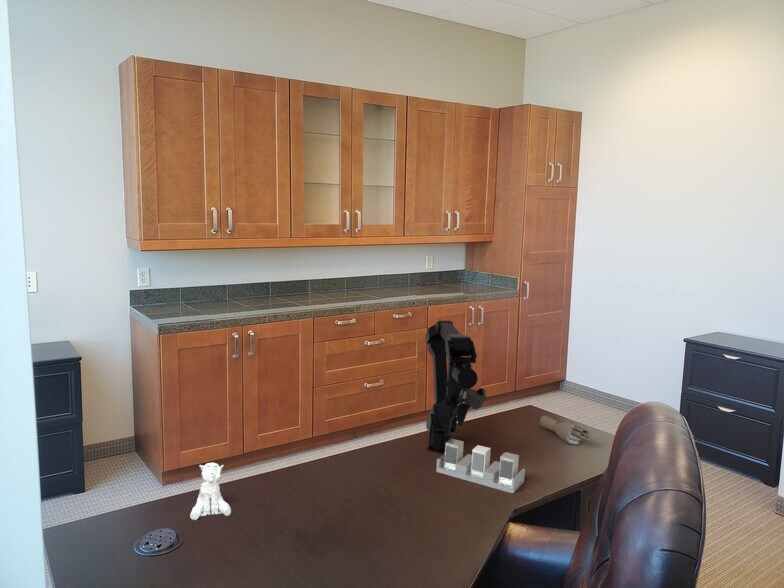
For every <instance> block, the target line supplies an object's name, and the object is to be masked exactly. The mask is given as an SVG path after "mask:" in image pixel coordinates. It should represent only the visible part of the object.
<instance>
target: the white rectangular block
mask: <svg viewBox="0 0 784 588" xmlns="http://www.w3.org/2000/svg"><path fill="white" fill-rule="evenodd" d="M491 450H492V449H491V447H487V446H483V445H479V444H477V445H476V446H475V447H474V448H473V449H472V450H471V451H472V452H471V453H472V454H471V455H472V466H471V473H475V474H479V475H482V476H483V471H484V470H485V469H486V468H488V467H489V466H490V465H491V462H490V461H491Z"/></svg>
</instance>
